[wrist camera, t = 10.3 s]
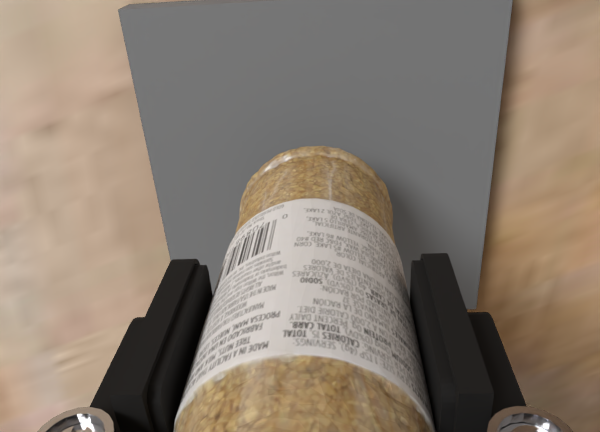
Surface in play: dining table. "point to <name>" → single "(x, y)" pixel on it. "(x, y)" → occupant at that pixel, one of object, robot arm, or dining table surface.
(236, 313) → the spice jar
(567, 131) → the dining table surface
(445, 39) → the mat
